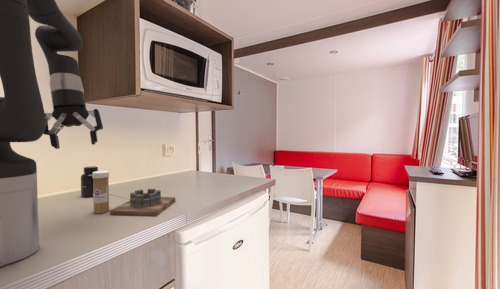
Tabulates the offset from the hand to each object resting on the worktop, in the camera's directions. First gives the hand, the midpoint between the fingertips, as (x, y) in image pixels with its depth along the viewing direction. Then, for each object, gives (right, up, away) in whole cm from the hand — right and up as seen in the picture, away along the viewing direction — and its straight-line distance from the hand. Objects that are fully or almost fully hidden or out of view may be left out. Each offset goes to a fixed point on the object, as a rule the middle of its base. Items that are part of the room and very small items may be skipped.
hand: (76, 146), depth 64 cm
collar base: (+14, -22, +14) cm, 29 cm away
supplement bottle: (-16, -21, +28) cm, 39 cm away
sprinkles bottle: (+1, -22, +10) cm, 24 cm away
